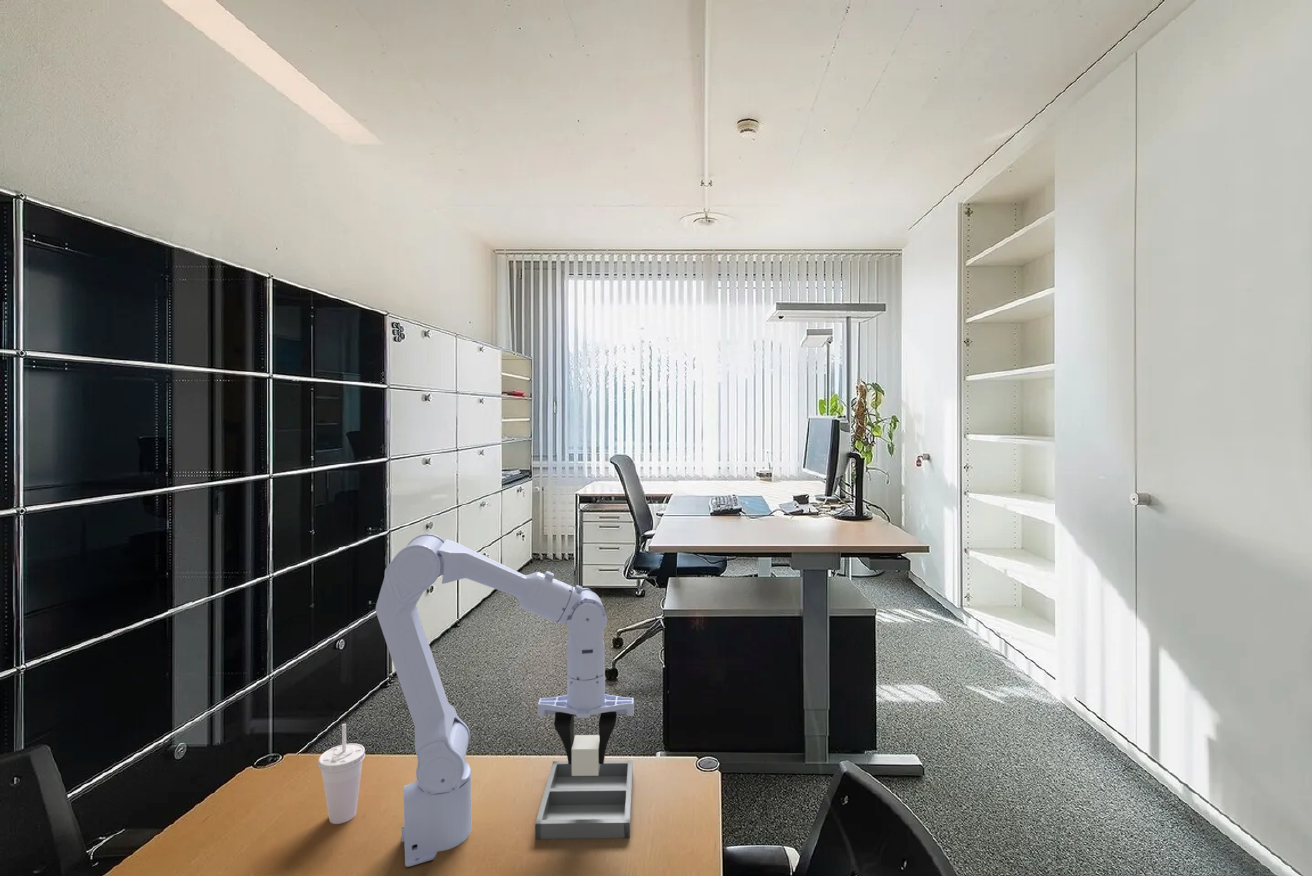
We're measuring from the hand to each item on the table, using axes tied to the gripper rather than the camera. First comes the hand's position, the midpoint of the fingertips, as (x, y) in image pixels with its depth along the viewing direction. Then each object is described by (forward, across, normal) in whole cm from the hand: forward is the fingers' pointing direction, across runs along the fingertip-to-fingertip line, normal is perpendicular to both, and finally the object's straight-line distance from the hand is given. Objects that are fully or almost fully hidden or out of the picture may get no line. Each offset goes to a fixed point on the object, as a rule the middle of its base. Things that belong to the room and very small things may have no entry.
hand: (586, 760), depth 89 cm
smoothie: (+9, -38, +1) cm, 39 cm away
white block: (+1, 0, 0) cm, 1 cm away
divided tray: (+9, 0, +2) cm, 9 cm away
